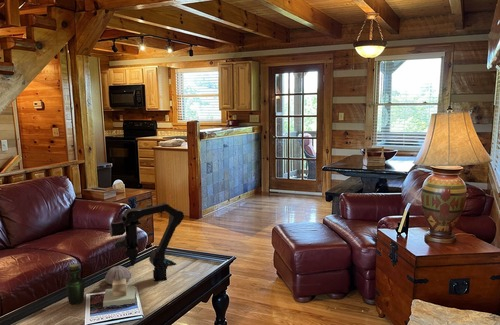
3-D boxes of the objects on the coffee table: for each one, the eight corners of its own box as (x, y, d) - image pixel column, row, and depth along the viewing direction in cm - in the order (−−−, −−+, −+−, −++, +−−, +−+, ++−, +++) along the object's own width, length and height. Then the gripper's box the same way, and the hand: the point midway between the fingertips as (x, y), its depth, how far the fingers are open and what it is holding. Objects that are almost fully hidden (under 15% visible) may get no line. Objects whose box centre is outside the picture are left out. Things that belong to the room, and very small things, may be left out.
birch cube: (126, 290, 191) (126, 278, 190) (126, 295, 185) (125, 283, 184) (113, 291, 189) (113, 280, 188) (112, 297, 183) (112, 285, 183)
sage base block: (135, 291, 196) (135, 285, 196) (135, 304, 183) (134, 298, 182) (105, 295, 192) (105, 289, 192) (103, 308, 179) (103, 302, 178)
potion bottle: (70, 297, 190) (68, 262, 187) (88, 297, 190) (86, 261, 188) (64, 305, 181) (61, 268, 179) (82, 305, 182) (80, 268, 180)
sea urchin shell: (136, 280, 209) (135, 266, 209) (112, 288, 199) (112, 273, 199) (123, 274, 218) (122, 260, 217) (100, 281, 208) (99, 267, 207)
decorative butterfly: (162, 255, 238) (175, 253, 232) (165, 265, 237) (177, 264, 232) (151, 260, 229) (163, 259, 224) (153, 271, 229) (165, 270, 224)
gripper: (115, 229, 208) (117, 258, 210) (113, 240, 190) (115, 271, 192) (137, 228, 211) (138, 255, 213) (137, 238, 193) (138, 268, 195)
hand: (132, 262), depth 203 cm, fingers open, 9 cm apart
